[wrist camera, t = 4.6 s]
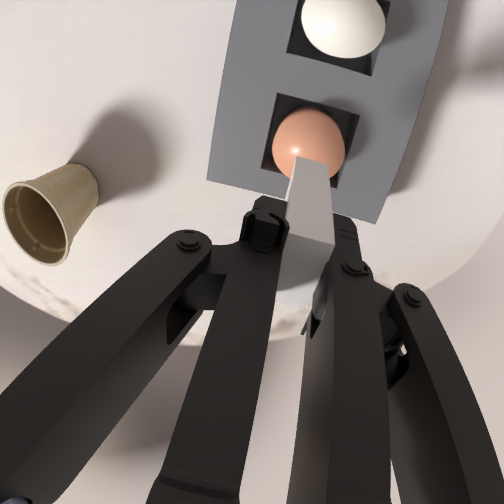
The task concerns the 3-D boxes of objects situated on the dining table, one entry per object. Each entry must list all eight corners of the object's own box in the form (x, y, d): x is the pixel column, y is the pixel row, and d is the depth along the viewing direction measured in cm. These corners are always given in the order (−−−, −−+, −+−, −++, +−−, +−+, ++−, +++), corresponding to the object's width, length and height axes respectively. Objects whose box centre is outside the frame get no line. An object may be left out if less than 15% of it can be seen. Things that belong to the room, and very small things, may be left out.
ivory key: (310, -13, 16) (310, -26, 13) (379, 6, 16) (392, -2, 13) (296, 47, 19) (293, 45, 16) (364, 66, 19) (374, 68, 15)
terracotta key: (285, 98, 22) (280, 107, 19) (347, 115, 22) (353, 127, 19) (272, 155, 25) (265, 173, 22) (330, 171, 25) (333, 191, 22)
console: (279, -117, 12) (272, -137, 9) (444, -71, 12) (461, -83, 8) (219, 162, 29) (206, 180, 25) (368, 202, 28) (375, 224, 25)
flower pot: (121, 170, 31) (72, 210, 24) (104, 235, 36) (65, 281, 29) (56, 136, 29) (2, 167, 22) (47, 201, 35) (3, 239, 28)
